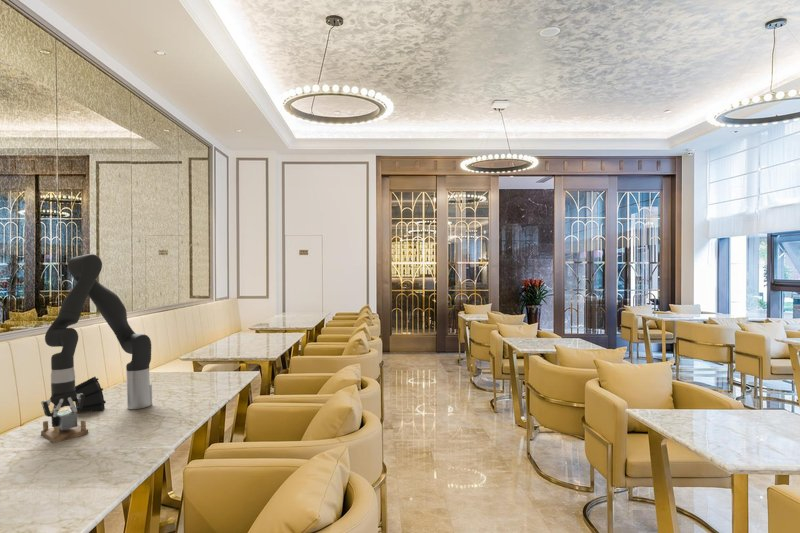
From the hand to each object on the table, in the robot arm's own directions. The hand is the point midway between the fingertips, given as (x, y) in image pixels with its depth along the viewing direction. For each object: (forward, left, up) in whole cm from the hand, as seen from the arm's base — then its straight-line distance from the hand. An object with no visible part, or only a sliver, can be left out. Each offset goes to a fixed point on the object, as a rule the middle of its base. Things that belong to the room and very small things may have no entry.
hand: (64, 423), depth 180 cm
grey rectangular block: (0, 0, -1) cm, 1 cm away
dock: (0, 0, -4) cm, 4 cm away
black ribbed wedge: (-17, -28, -4) cm, 33 cm away
